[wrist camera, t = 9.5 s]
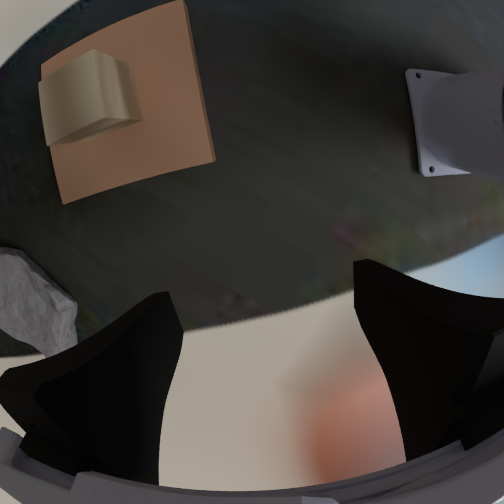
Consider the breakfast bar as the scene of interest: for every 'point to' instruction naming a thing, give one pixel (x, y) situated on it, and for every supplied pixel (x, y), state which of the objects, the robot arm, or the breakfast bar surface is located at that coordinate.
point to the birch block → (88, 99)
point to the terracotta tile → (141, 106)
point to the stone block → (34, 305)
